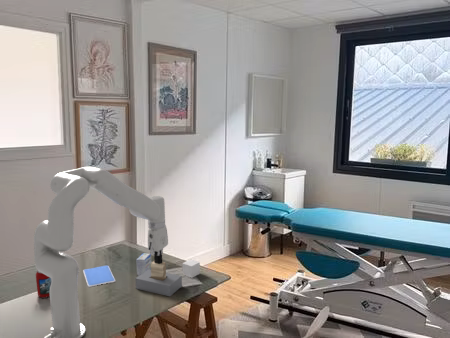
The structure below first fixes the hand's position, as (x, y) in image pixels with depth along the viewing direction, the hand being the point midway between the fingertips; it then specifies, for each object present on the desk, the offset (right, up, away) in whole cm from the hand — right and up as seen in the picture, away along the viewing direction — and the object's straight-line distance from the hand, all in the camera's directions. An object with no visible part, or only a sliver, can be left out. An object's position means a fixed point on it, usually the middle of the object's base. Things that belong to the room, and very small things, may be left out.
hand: (158, 262), depth 187 cm
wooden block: (0, -12, +2) cm, 12 cm away
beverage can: (-49, -14, -4) cm, 51 cm away
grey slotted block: (0, -12, +2) cm, 12 cm away
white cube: (+14, -9, +16) cm, 23 cm away
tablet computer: (-31, -10, +14) cm, 36 cm away
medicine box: (-10, -9, +17) cm, 22 cm away
